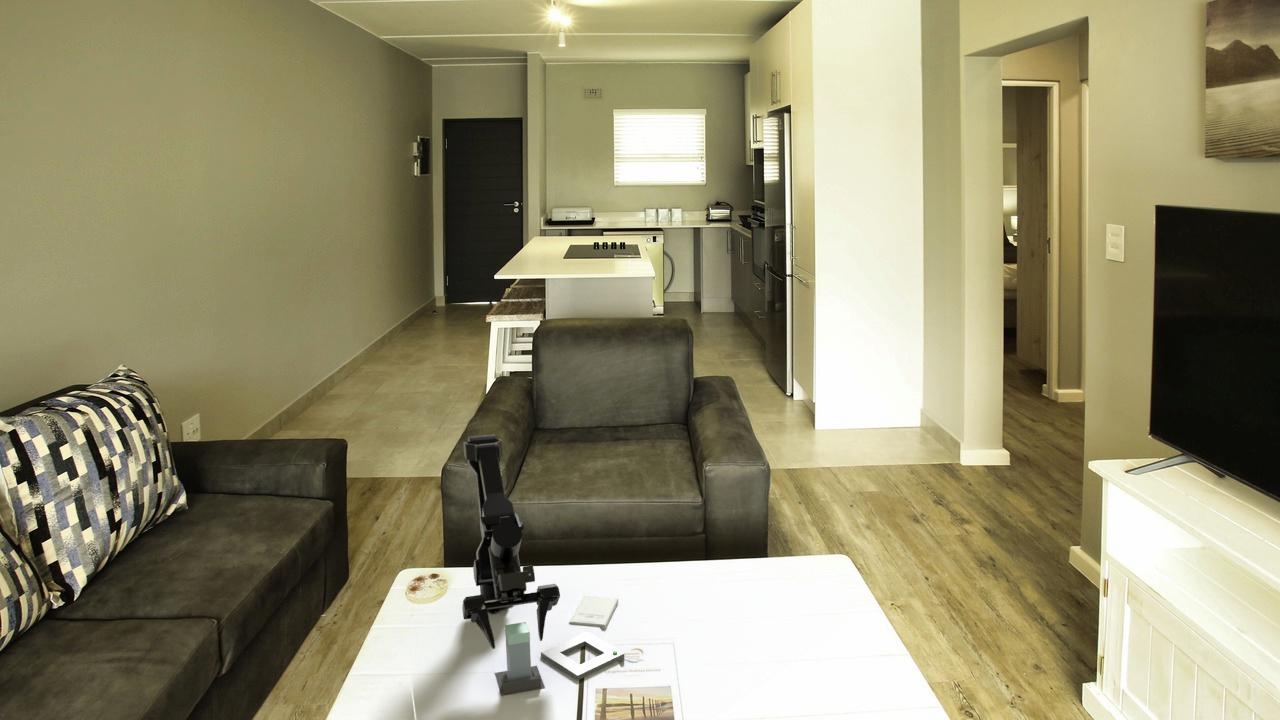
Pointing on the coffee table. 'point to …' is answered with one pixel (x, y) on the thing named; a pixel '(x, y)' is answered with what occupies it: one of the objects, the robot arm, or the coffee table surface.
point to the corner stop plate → (519, 682)
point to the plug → (518, 651)
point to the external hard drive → (594, 611)
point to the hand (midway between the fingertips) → (517, 644)
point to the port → (580, 671)
